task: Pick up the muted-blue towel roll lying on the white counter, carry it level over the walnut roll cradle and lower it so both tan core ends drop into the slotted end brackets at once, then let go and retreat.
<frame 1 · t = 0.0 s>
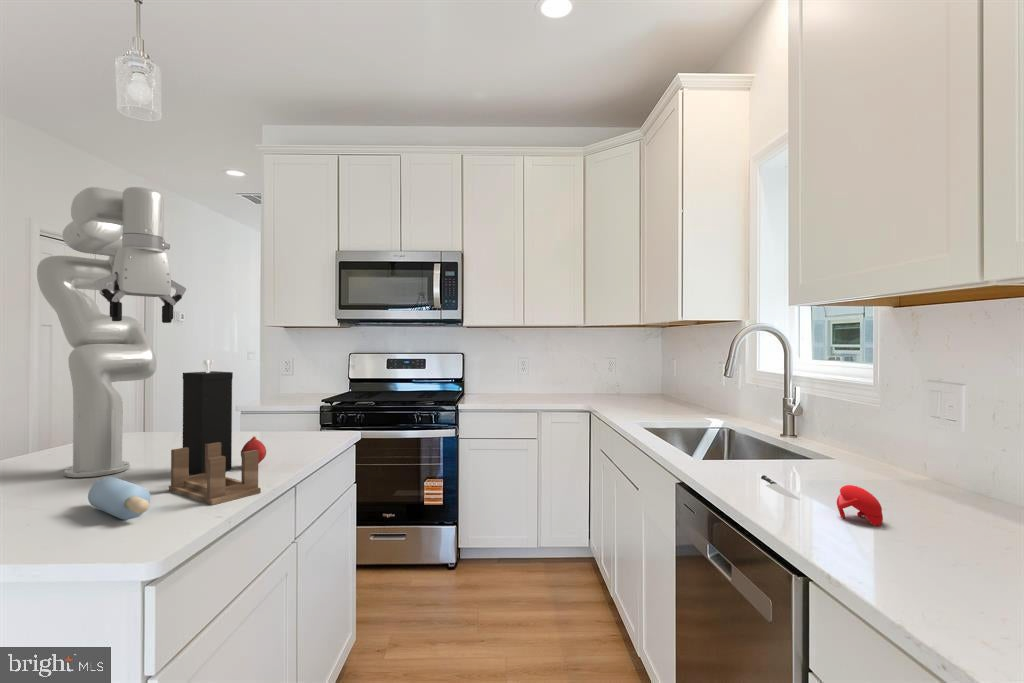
hand: (142, 321, 113), 37 cm above the worktop, tool pointing down, fingers open, 9 cm apart
onion: (253, 467, 132), on the worktop
roll: (118, 513, 96), on the worktop
holder: (214, 491, 110), on the worktop
chef's knife: (776, 491, 115), on the worktop
cap: (859, 520, 95), on the worktop
tall black box: (207, 472, 127), on the worktop
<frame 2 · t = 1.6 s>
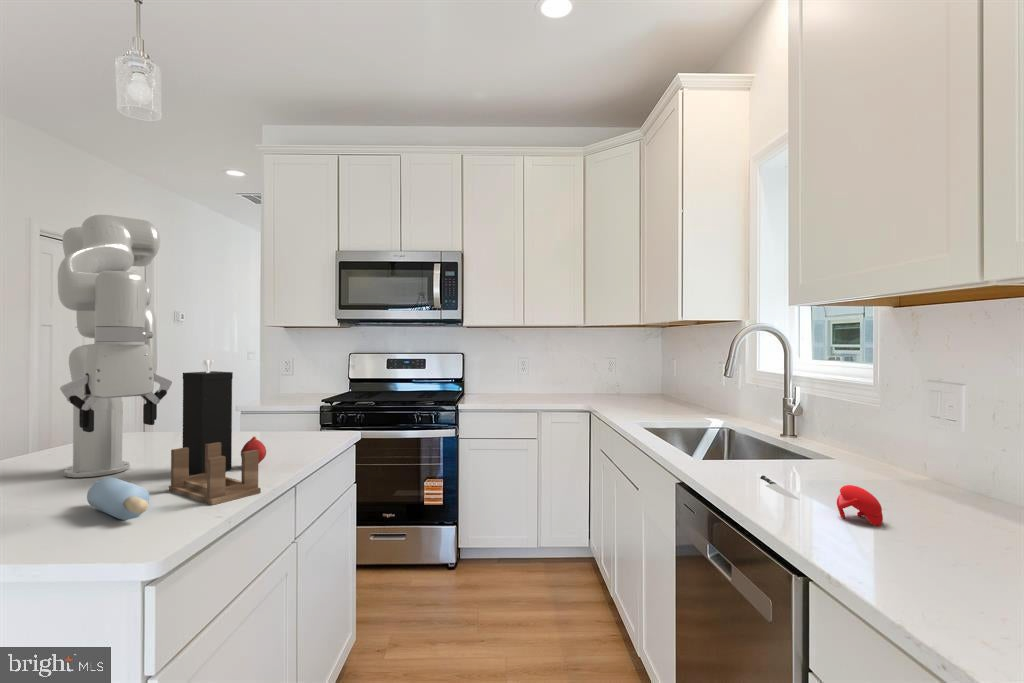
hand: (119, 427, 96), 16 cm above the worktop, tool pointing down, fingers open, 9 cm apart
nothing on the worktop moved.
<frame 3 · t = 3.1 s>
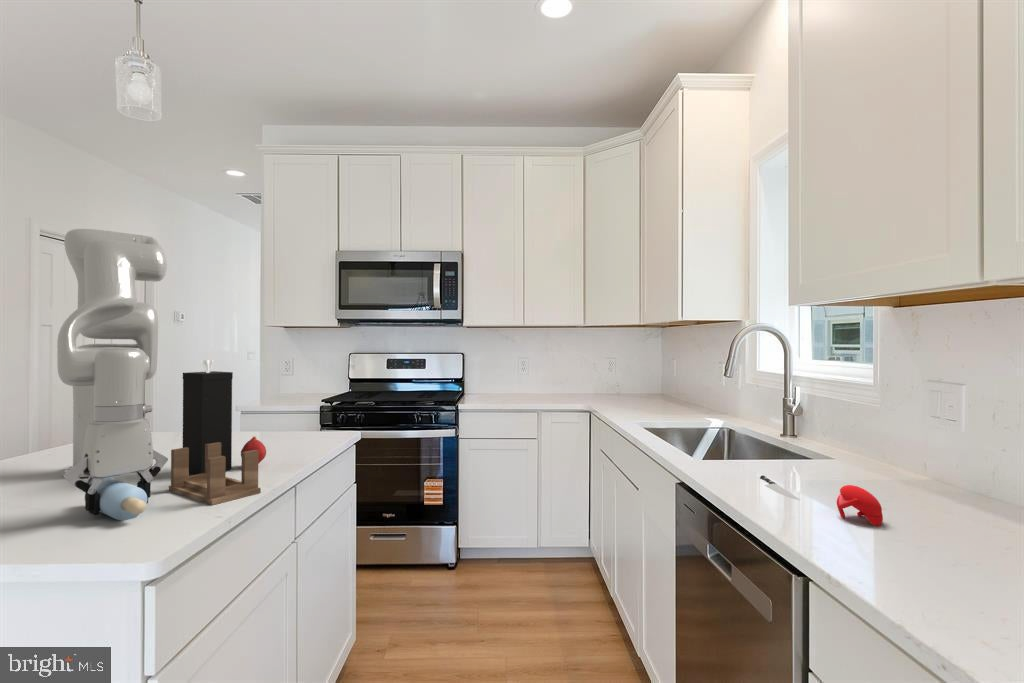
hand: (119, 507, 96), 1 cm above the worktop, tool pointing down, fingers open, 7 cm apart
roll: (119, 513, 96), on the worktop, tilted 10°, touching gripper
everything else where it was.
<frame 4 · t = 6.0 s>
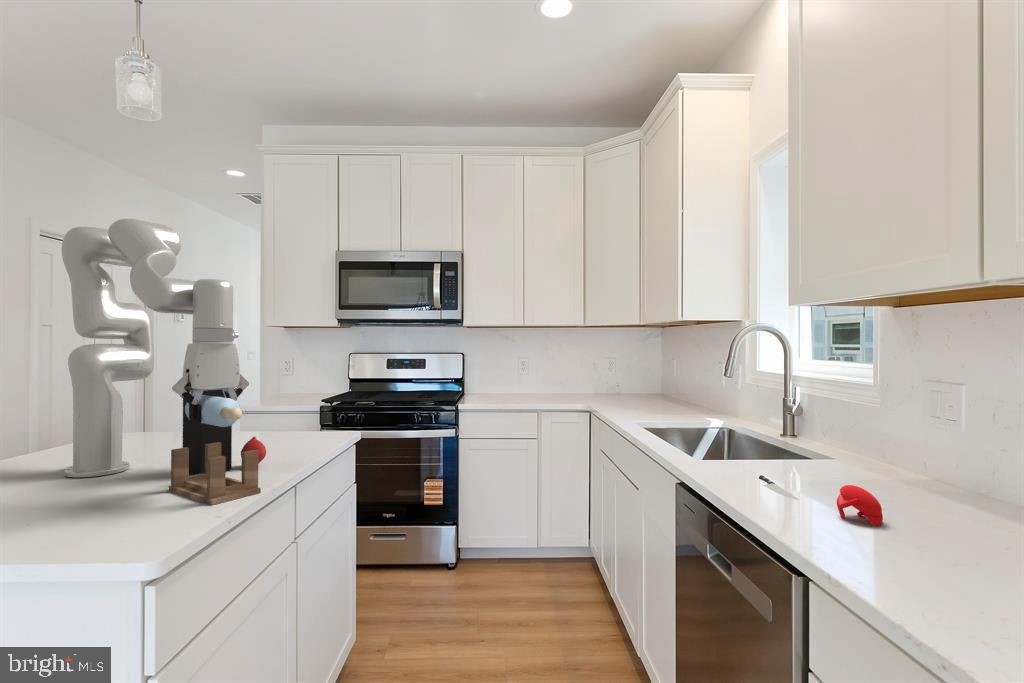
hand: (212, 420, 110), 16 cm above the worktop, tool pointing down, fingers closed on roll, 6 cm apart
roll: (212, 424, 110), point 15 cm above the worktop, touching gripper
everything else where it was.
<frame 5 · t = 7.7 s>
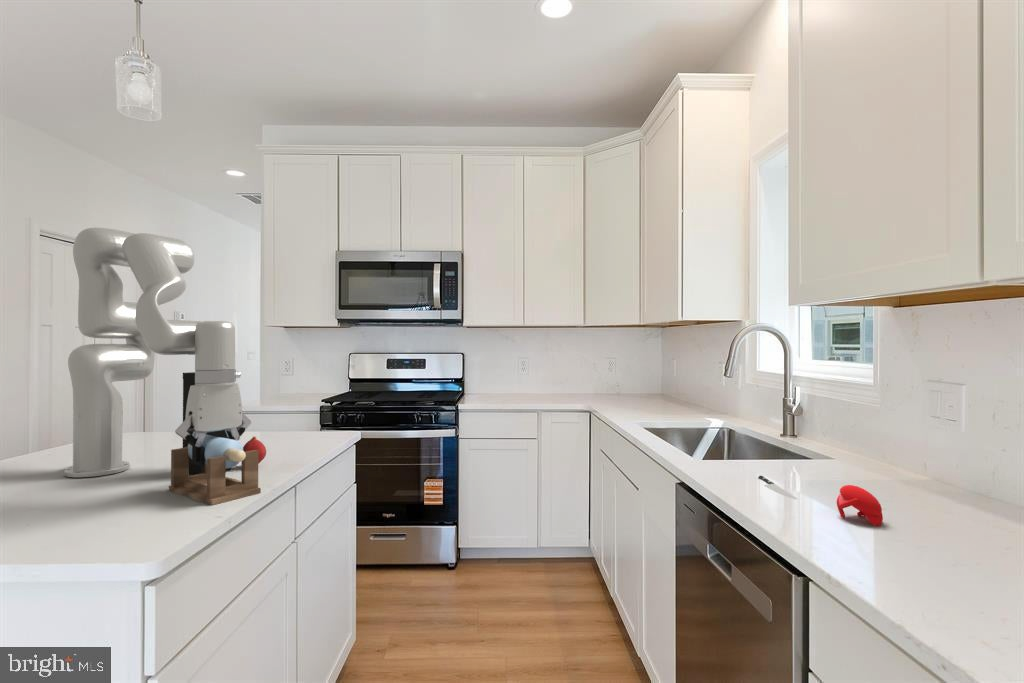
hand: (215, 460, 110), 7 cm above the worktop, tool pointing down, fingers closed on roll, 6 cm apart
roll: (215, 464, 110), point 6 cm above the worktop, touching gripper
everything else where it was.
when the fingers open (3 cm above the worktop, at t = 8.9 s): roll drops 1 cm, resting on holder.
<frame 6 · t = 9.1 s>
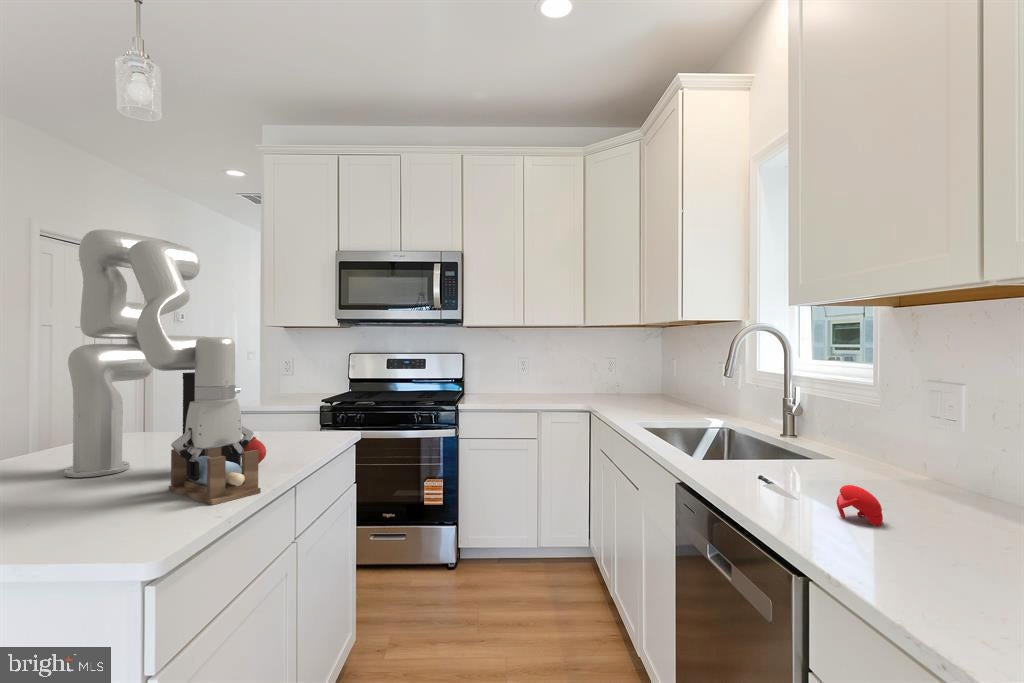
hand: (214, 474, 110), 4 cm above the worktop, tool pointing down, fingers open, 8 cm apart
roll: (214, 487, 110), point 1 cm above the worktop, touching holder
everything else where it was.
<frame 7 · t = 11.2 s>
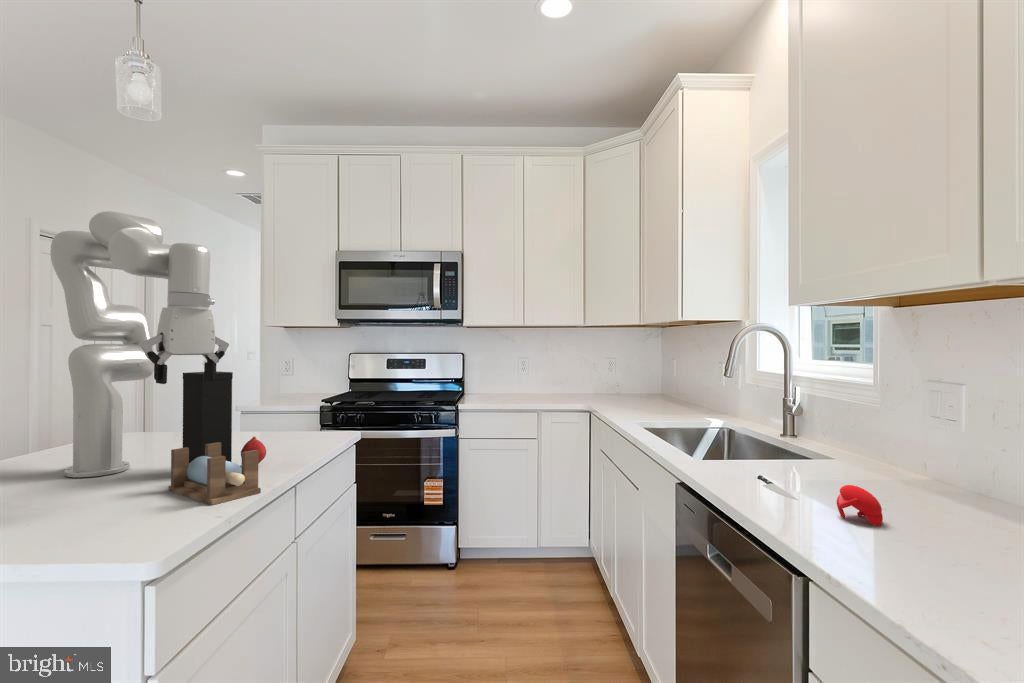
hand: (186, 382, 109), 24 cm above the worktop, tool pointing down, fingers open, 9 cm apart
nothing on the worktop moved.
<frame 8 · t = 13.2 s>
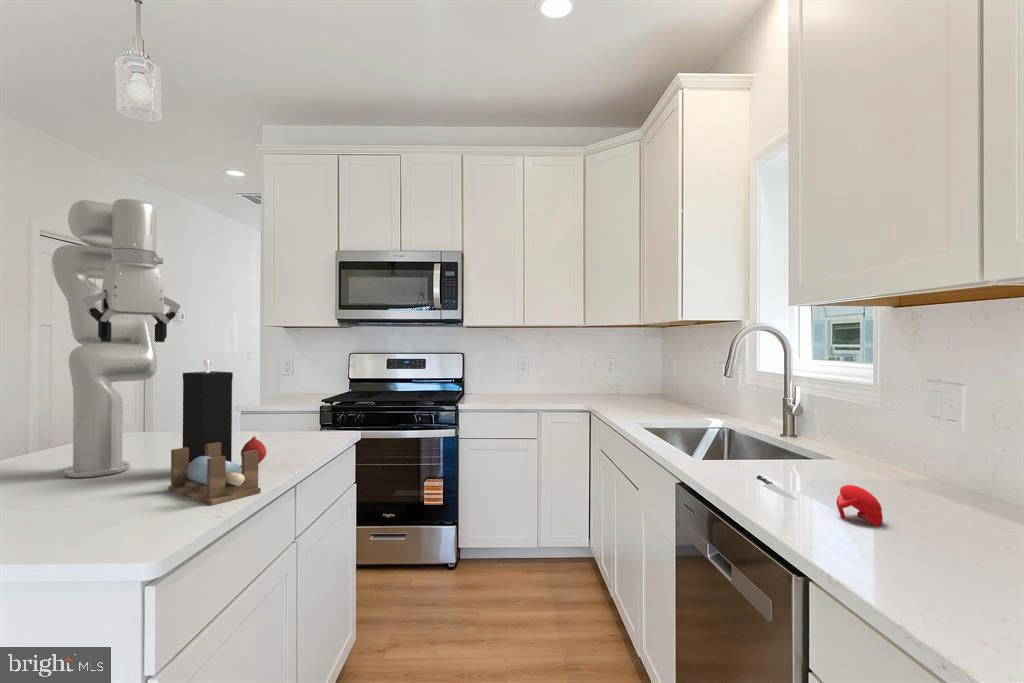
hand: (133, 341, 107), 32 cm above the worktop, tool pointing down, fingers open, 9 cm apart
nothing on the worktop moved.
at the end: roll 0.0 cm off-centre on the holder, point 1.0 cm above the holder's base; the gripper is holding nothing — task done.
